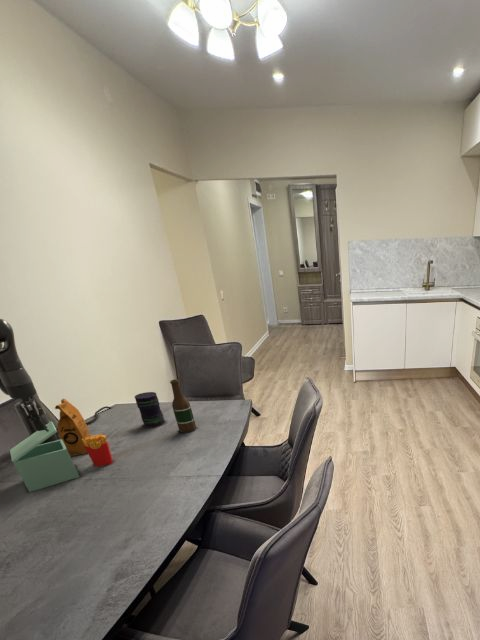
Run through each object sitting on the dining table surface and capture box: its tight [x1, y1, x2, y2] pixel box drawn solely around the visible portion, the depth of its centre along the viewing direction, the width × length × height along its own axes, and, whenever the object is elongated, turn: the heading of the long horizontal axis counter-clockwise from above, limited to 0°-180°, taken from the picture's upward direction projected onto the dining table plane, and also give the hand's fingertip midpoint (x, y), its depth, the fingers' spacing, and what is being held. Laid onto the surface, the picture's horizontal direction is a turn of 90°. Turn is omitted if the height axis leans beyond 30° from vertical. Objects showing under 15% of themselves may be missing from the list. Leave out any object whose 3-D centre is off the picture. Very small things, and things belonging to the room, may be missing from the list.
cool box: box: [12, 438, 80, 493], centre depth 147 cm, size 16×13×12 cm
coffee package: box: [54, 398, 92, 457], centre depth 167 cm, size 10×12×22 cm
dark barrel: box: [134, 391, 166, 428], centre depth 193 cm, size 10×10×15 cm
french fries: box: [82, 434, 114, 467], centre depth 156 cm, size 8×4×12 cm, turn 110°
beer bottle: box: [169, 379, 197, 433], centre depth 182 cm, size 8×8×24 cm
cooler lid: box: [9, 421, 57, 463], centre depth 140 cm, size 17×13×6 cm
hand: (40, 427), depth 142 cm, fingers closed on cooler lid, 5 cm apart
